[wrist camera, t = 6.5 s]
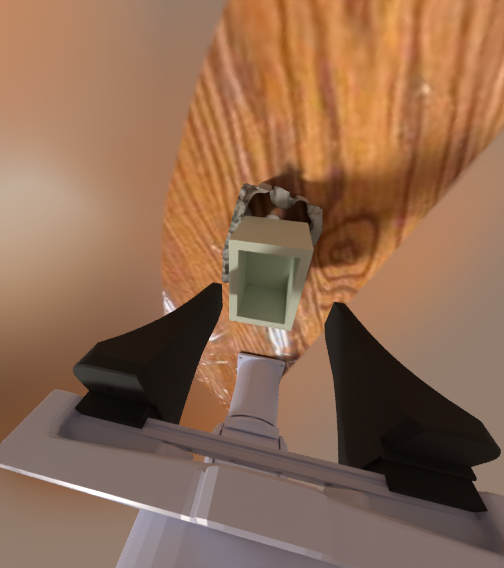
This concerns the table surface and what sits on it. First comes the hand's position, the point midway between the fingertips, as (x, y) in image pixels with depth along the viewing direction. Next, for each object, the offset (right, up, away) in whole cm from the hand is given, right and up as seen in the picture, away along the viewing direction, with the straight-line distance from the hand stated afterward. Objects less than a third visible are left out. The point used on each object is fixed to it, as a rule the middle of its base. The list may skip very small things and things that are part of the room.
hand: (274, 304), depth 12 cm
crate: (0, +4, +5) cm, 6 cm away
